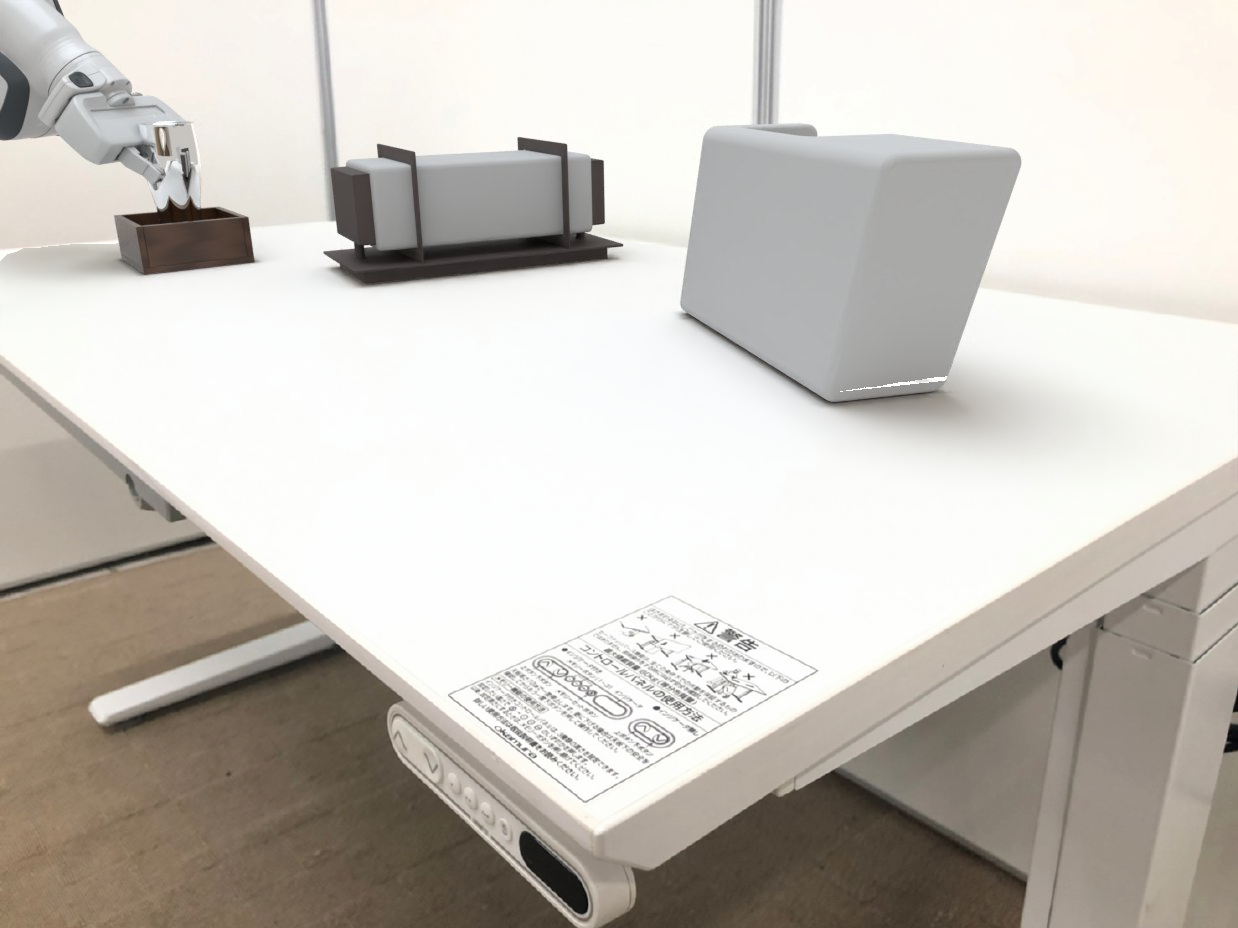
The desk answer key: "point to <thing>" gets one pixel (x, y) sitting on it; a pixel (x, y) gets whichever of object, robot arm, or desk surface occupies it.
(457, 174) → the light fixture
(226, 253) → the crate
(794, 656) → the desk surface
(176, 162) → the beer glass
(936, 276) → the grey tapered block
